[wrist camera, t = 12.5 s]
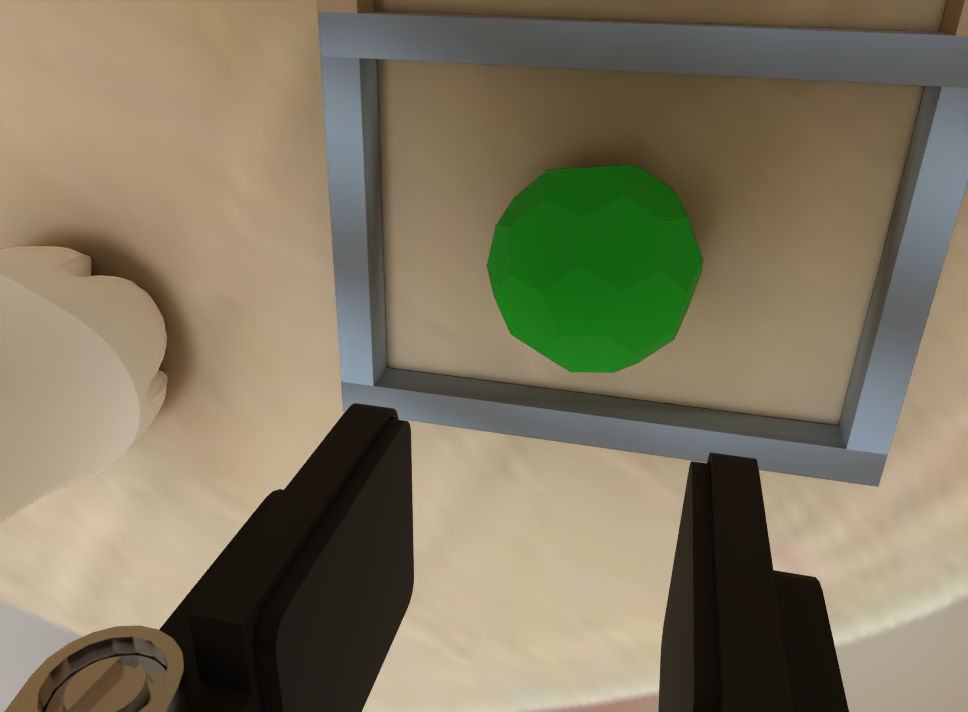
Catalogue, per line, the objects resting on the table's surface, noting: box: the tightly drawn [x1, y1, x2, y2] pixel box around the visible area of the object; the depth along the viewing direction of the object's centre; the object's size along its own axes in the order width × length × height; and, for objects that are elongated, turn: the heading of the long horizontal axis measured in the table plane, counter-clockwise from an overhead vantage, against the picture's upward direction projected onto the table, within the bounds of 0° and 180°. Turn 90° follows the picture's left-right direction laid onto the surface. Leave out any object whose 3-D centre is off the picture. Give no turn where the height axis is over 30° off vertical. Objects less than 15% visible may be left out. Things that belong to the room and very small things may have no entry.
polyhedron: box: [487, 165, 703, 372], centre depth 19 cm, size 5×5×5 cm
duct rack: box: [317, 0, 968, 487], centre depth 18 cm, size 21×15×1 cm
